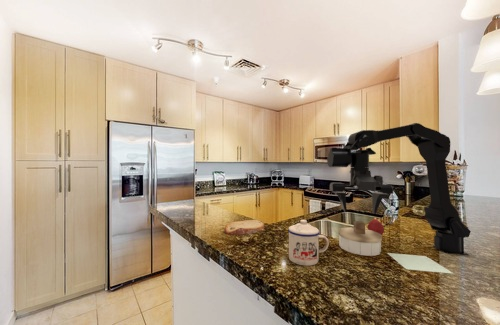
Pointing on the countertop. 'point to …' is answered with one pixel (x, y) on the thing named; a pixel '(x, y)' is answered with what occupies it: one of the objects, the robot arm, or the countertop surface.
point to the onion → (376, 226)
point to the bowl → (360, 247)
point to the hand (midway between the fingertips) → (359, 213)
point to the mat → (418, 263)
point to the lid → (360, 233)
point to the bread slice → (244, 227)
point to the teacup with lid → (305, 243)
